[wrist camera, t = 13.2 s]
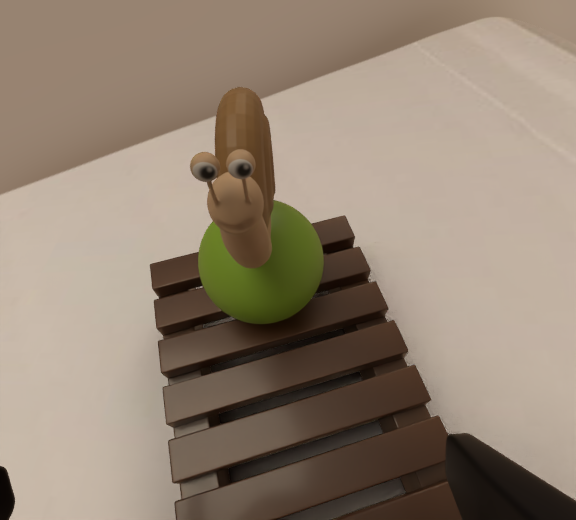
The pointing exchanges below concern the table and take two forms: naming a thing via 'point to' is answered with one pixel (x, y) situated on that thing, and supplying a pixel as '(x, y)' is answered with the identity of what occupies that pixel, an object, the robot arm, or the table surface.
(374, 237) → the table surface
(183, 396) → the rack
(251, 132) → the snail figurine
